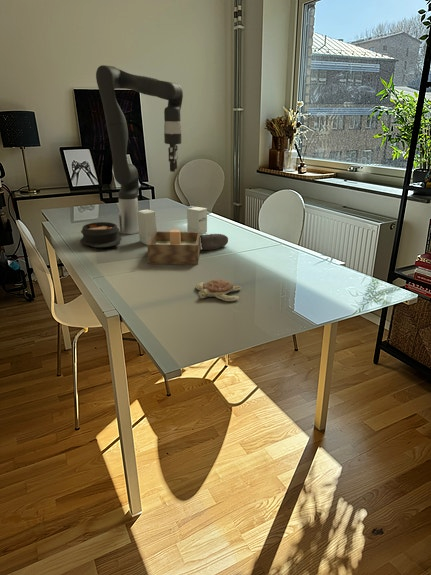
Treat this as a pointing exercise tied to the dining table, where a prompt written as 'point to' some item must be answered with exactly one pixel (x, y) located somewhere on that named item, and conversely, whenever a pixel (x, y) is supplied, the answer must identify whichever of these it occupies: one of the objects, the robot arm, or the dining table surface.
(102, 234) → the casserole
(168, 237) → the walnut box
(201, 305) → the dining table surface
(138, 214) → the skincare box
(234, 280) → the dining table surface
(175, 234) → the terracotta peg
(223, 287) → the decorative turtle
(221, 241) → the perforated stone tool
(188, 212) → the supplement box
